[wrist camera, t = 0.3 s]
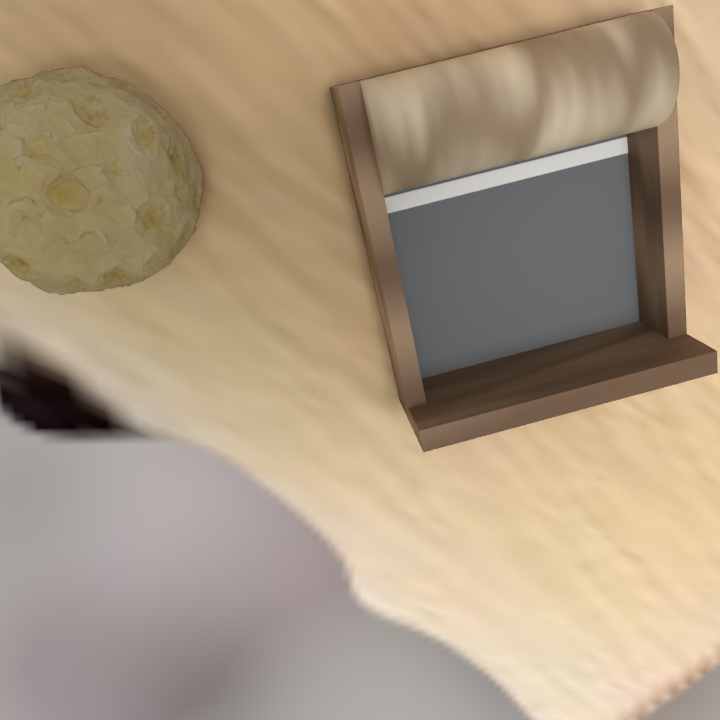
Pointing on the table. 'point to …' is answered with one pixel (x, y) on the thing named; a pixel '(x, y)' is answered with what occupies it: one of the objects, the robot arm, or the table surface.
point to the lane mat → (517, 255)
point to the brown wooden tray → (516, 143)
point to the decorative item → (91, 182)
